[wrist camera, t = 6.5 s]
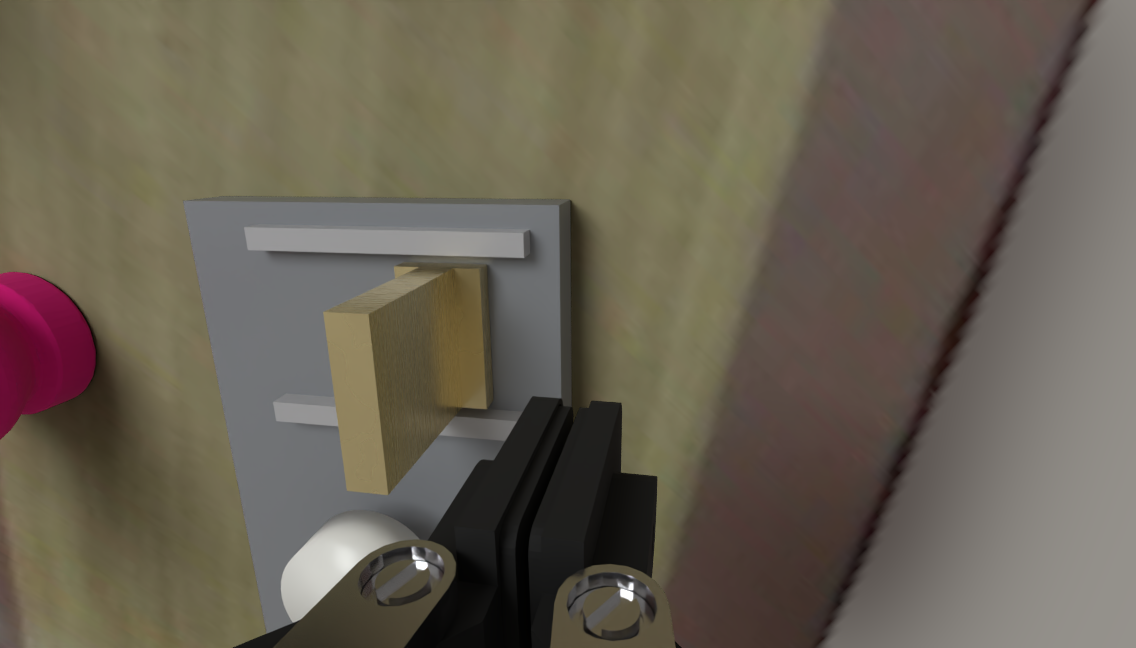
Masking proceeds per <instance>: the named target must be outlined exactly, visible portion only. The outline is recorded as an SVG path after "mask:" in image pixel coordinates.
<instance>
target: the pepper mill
mask: <svg viewBox="0 0 1136 648" xmlns="http://www.w3.org/2000/svg"><path fill="white" fill-rule="evenodd" d="M95 366H96V349H95V346H94V342H93V338H92V335H91V331H90V328H89V326H88V324H87V322H86V320H85V319H84V317H83V315H82V314H81V312H80V311H79V309H78V308H77V307H76V306H75V304H74V303H73V302H72V301H71V300H70V298H69V297H68V296H67V295H65V294H64V293H63V292H62V291H60V290H59V289H58V288H57V287H55V286H54V285H53V284H51V283H49V282H47V281H45V280H43V279H41V278H39V277H37V276H35V275H31V274H28V273H20V272H8V273H3V274H0V440H1V439H2V438H3V437H4V436H5V435H6V434H7V433H8V432H9V431H10V430H11V429H12V427H13V426H14V425H15V423H16V422H17V420H18V418H19V417H20V415H21V414H35V413H38V412H41V411H43V410H46V409H48V408H51V407H53V406H56V405H58V404H61V403H63V402H65V401H68V400H70V399H72V398H75V397H76V396H78V395H79V394H81V393H82V392H83V391H84V390H85V389H86V388H87V386H88V384H89V383H90V381H91V379H92V377H93V375H94V370H95Z"/></svg>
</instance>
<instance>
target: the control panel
mask: <svg viewBox="0 0 1136 648" xmlns="http://www.w3.org/2000/svg"><path fill="white" fill-rule="evenodd" d="M183 203H184V208H185V213H186V218H187V224H188V229H189V234H190V239H191V244H192V249H193V255H194V260H195V265H196V270H197V275H198V280H199V286H200V291H201V296H202V301H203V306H204V311H205V317H206V322H207V327H208V332H209V337H210V342H211V348H212V353H213V358H214V363H215V368H216V373H217V379H218V384H219V389H220V394H221V399H222V404H223V410H224V415H225V420H226V425H227V430H228V435H229V441H230V446H231V451H232V456H233V461H234V466H235V472H236V477H237V482H238V487H239V492H240V497H241V503H242V508H243V513H244V518H245V523H246V528H247V534H248V539H249V544H250V549H251V554H252V559H253V565H254V570H255V575H256V580H257V585H258V591H259V596H260V601H261V606H262V611H263V616H264V622H265V627H266V632H267V633H270V632H272V631H274V630H277V629H279V628H282V627H284V626H286V625H289V624H291V623H293V622H292V620H291V619H290V617H289V615H288V613H287V611H286V609H285V606H284V604H283V600H282V595H281V579H282V574H283V572H284V569H285V567H286V565H287V564H288V562H289V561H290V560H291V559H292V558H293V556H294V555H295V554H296V553H297V552H298V551H299V550H300V549H301V548H302V547H303V546H304V545H305V544H306V543H307V542H308V541H309V540H310V538H311V537H312V536H313V535H314V534H315V533H316V532H317V531H318V530H319V529H320V528H321V527H322V526H323V525H324V524H325V523H326V522H327V521H328V520H329V519H330V518H332V517H334V516H336V515H337V514H340V513H343V512H346V511H351V510H368V511H374V512H378V513H381V514H384V515H387V516H389V517H391V518H393V519H395V520H397V521H399V522H400V523H402V524H403V525H405V526H406V527H407V528H409V529H410V530H411V531H412V532H413V533H414V534H415V535H416V536H417V537H418V538H419V539H420V540H426V541H427V540H428V539H429V537H430V536H431V534H432V533H433V531H434V530H435V528H436V526H437V525H438V523H439V522H440V520H441V519H442V517H443V516H444V514H445V512H446V511H447V509H448V508H449V506H450V505H451V503H452V502H453V500H454V498H455V497H456V495H457V494H458V492H459V491H460V489H461V488H462V486H463V484H464V483H465V481H466V480H467V478H468V477H469V475H470V474H471V472H472V470H473V469H474V467H475V466H476V464H477V463H478V462H479V461H480V460H483V459H486V460H494V459H495V457H496V456H497V454H498V452H499V451H500V449H501V447H502V446H503V444H504V442H505V441H506V439H507V437H508V436H509V434H510V432H511V431H512V429H513V427H514V426H515V424H516V422H517V421H518V419H519V417H520V416H521V414H522V412H523V411H524V409H525V407H526V406H527V404H528V402H529V401H530V399H531V398H532V396H537V397H550V398H562V400H563V406H568V407H572V393H571V225H570V200H562V199H460V198H358V197H256V196H220V197H212V198H203V199H195V200H186V201H183ZM403 262H425V263H458V264H487V272H488V293H489V314H490V335H491V356H492V377H493V398H494V400H493V401H492V403H491V404H490V406H489V407H488V408H487V409H476V408H463V407H462V408H461V410H460V411H459V412H458V413H457V414H456V415H455V417H454V418H453V419H452V420H451V421H450V423H449V424H448V425H447V426H446V427H445V429H444V430H443V431H442V432H441V433H440V434H439V436H438V437H437V438H436V439H435V440H434V442H433V443H432V444H431V445H430V446H429V448H428V449H427V450H426V451H425V452H424V453H423V455H422V456H421V457H420V458H419V459H418V461H417V462H416V463H415V464H414V465H413V467H412V468H411V469H410V470H409V471H408V472H407V474H406V475H405V476H404V477H403V478H402V480H401V481H400V482H399V483H398V484H397V485H396V487H395V488H394V489H393V490H392V491H391V493H390V494H389V495H381V494H372V493H362V492H353V491H347V488H346V481H345V473H344V465H343V458H342V450H341V443H340V435H339V428H338V420H337V413H336V405H335V398H334V390H333V383H332V375H331V368H330V360H329V353H328V345H327V338H326V330H325V322H324V315H323V312H324V311H326V310H329V309H331V308H333V307H335V306H337V305H339V304H341V303H344V302H346V301H348V300H350V299H352V298H354V297H356V296H359V295H361V294H363V293H365V292H367V291H369V290H371V289H373V288H376V287H378V286H380V285H382V284H384V283H386V282H388V281H391V280H393V279H395V272H394V266H396V265H398V264H401V263H403Z"/></svg>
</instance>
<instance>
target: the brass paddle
mask: <svg viewBox="0 0 1136 648" xmlns="http://www.w3.org/2000/svg"><path fill="white" fill-rule="evenodd" d="M394 272H395V279H393V280H391V281H388V282H386V283H384V284H382V285H380V286H378V287H376V288H373V289H371V290H369V291H367V292H365V293H363V294H361V295H359V296H356V297H354V298H352V299H350V300H348V301H346V302H344V303H341V304H339V305H337V306H335V307H333V308H331V309H329V310H326V311H324V312H323V315H324V322H325V330H326V338H327V345H328V353H329V360H330V368H331V375H332V383H333V390H334V398H335V405H336V413H337V420H338V428H339V435H340V443H341V450H342V458H343V465H344V473H345V481H346V488H347V491H353V492H362V493H372V494H381V495H389V494H390V493H391V491H392V490H393V489H394V488H395V487H396V485H397V484H398V483H399V482H400V481H401V480H402V478H403V477H404V476H405V475H406V474H407V472H408V471H409V470H410V469H411V468H412V467H413V465H414V464H415V463H416V462H417V461H418V459H419V458H420V457H421V456H422V455H423V453H424V452H425V451H426V450H427V449H428V448H429V446H430V445H431V444H432V443H433V442H434V440H435V439H436V438H437V437H438V436H439V434H440V433H441V432H442V431H443V430H444V429H445V427H446V426H447V425H448V424H449V423H450V421H451V420H452V419H453V418H454V417H455V415H456V414H457V413H458V412H459V411H460V410H461V408H462V407H463V408H476V409H487V408H488V407H489V406H490V404H491V403H492V401H493V400H494V398H493V377H492V356H491V335H490V314H489V293H488V272H487V264H458V263H425V262H403V263H401V264H398V265H396V266H394Z"/></svg>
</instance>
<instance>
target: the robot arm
mask: <svg viewBox="0 0 1136 648" xmlns="http://www.w3.org/2000/svg"><path fill="white" fill-rule="evenodd" d="M621 437H622V405H621V403H616V402H603V401H591V403H590V406H589V408H581V407H580V408H579V411H578V413H577V416H576V418H575V420H574V423H573V408H572V407H568V406H563V400H562V398H550V397H537V396H532V398H531V399H530V401H529V402H528V404H527V406H526V407H525V409H524V411H523V412H522V414H521V416H520V417H519V419H518V421H517V422H516V424H515V426H514V427H513V429H512V431H511V432H510V434H509V436H508V437H507V439H506V441H505V442H504V444H503V446H502V447H501V449H500V451H499V452H498V454H497V456H496V457H495V459H494V460H486V459H483V460H480V461H479V462H478V463H477V464H476V466H475V467H474V469H473V470H472V472H471V474H470V475H469V477H468V478H467V480H466V481H465V483H464V484H463V486H462V488H461V489H460V491H459V492H458V494H457V495H456V497H455V498H454V500H453V502H452V503H451V505H450V506H449V508H448V509H447V511H446V512H445V514H444V516H443V517H442V519H441V520H440V522H439V523H438V525H437V526H436V528H435V530H434V531H433V533H432V534H431V536H430V537H429V539H428V540H427V541H426V540H418V539H415V540H404V541H398V542H395V543H391V544H388V545H385V546H383V547H381V548H379V549H377V550H375V551H373V552H371V553H369V554H368V555H367V556H365V557H364V558H363V559H362V560H360V561H359V562H358V563H357V564H356V565H355V566H354V567H353V568H352V569H351V570H350V571H349V572H348V573H347V574H346V575H345V576H344V577H343V578H342V579H341V580H340V581H339V582H338V583H337V584H336V585H335V586H334V587H333V588H332V589H331V590H330V591H329V592H328V593H327V594H326V595H325V596H324V597H323V598H322V599H321V600H320V601H319V602H318V603H317V604H316V605H315V606H314V607H313V608H312V609H311V610H310V611H309V612H308V613H307V614H306V615H305V616H304V617H303V618H302V619H301V620H298V621H296V622H294V623H291V624H289V625H286V626H284V627H282V628H279V629H277V630H274V631H272V632H270V633H267V634H265V635H262V636H260V637H257V638H255V639H253V640H250V641H248V642H245V643H243V644H241V645H238V646H236V647H233V648H681V647H680V646H679V645H678V644H677V643H676V642H675V640H674V633H673V627H672V620H671V613H670V607H669V603H668V600H667V598H666V595H665V592H664V591H663V590H662V588H661V587H660V586H659V585H658V584H657V582H656V581H655V580H653V579H652V568H653V556H654V542H655V524H656V502H657V476H649V475H639V474H628V473H621Z"/></svg>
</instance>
